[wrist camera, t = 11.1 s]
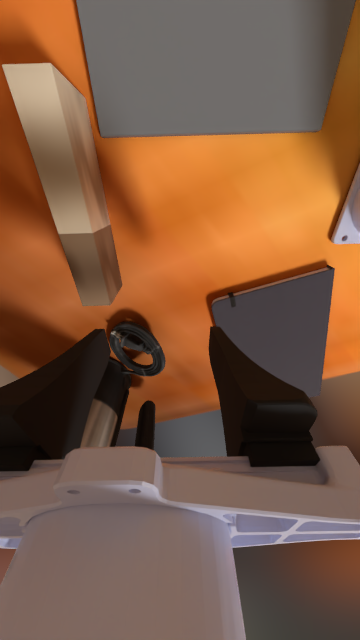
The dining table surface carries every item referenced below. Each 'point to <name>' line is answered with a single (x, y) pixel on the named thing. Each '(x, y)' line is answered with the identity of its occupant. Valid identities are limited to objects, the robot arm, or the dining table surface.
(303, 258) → the dining table surface
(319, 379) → the notebook
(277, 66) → the slate mat
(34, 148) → the long wooden beam
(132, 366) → the milk frother
